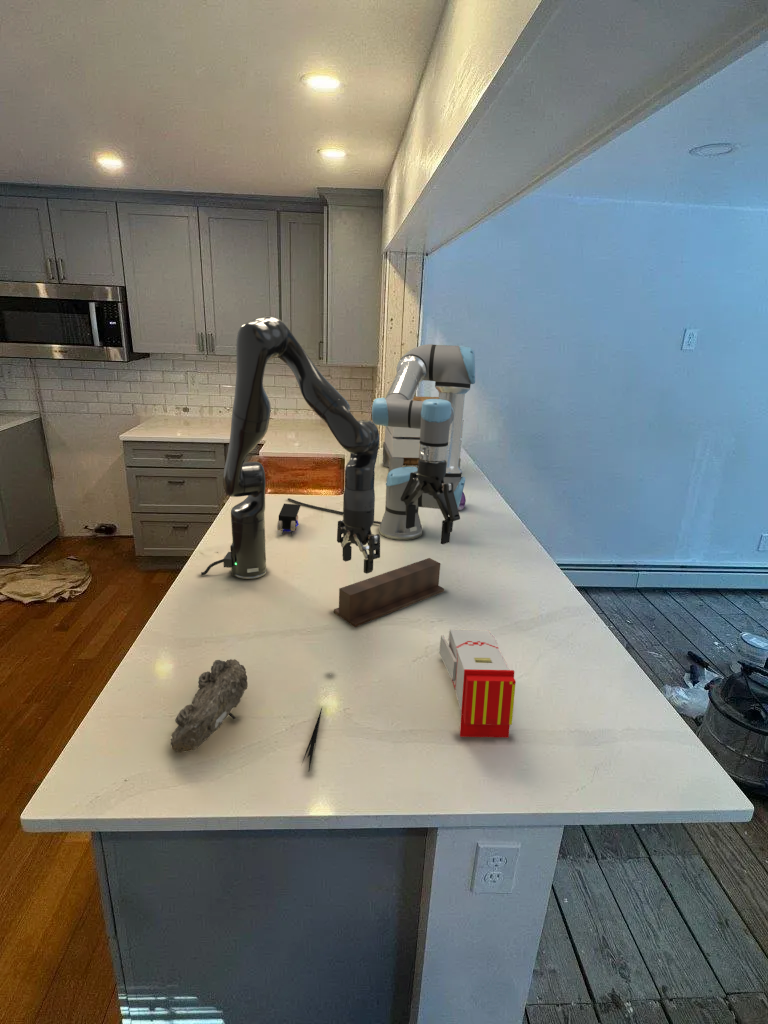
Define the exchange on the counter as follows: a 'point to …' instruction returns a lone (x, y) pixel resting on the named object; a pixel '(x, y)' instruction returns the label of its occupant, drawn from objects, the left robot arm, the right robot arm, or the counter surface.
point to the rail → (388, 592)
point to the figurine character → (288, 518)
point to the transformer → (404, 444)
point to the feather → (313, 740)
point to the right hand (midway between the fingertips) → (427, 535)
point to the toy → (479, 682)
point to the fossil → (210, 704)
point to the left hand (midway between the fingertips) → (357, 566)
